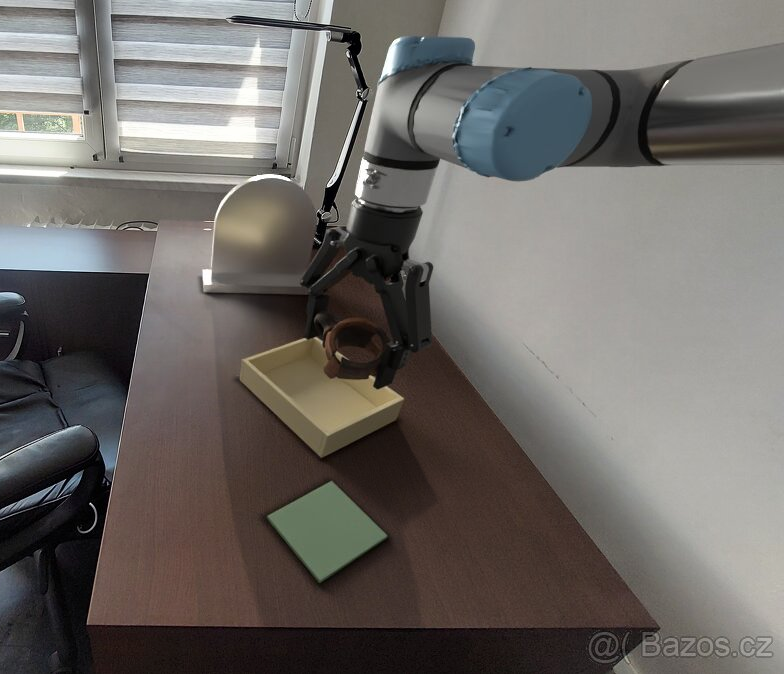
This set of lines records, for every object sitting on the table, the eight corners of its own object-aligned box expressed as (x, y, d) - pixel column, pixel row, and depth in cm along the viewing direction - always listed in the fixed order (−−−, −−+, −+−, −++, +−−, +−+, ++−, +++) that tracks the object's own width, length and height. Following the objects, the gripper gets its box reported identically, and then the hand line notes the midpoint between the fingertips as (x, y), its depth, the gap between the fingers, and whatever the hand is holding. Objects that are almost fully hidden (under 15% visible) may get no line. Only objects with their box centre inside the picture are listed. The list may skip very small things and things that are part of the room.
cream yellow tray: (396, 419, 78) (404, 398, 76) (321, 458, 71) (327, 436, 68) (308, 354, 94) (313, 334, 91) (239, 379, 86) (242, 359, 83)
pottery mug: (398, 367, 63) (414, 340, 56) (351, 412, 62) (361, 390, 54) (330, 314, 69) (337, 284, 62) (285, 354, 67) (287, 327, 60)
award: (306, 278, 122) (327, 172, 107) (314, 294, 115) (338, 183, 100) (202, 276, 122) (208, 169, 106) (203, 292, 114) (210, 179, 99)
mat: (386, 538, 60) (387, 535, 59) (319, 583, 55) (320, 580, 54) (330, 483, 67) (331, 480, 67) (266, 518, 62) (267, 515, 61)
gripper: (289, 179, 58) (267, 324, 70) (471, 245, 40) (400, 423, 52) (332, 173, 61) (304, 312, 73) (518, 232, 44) (441, 402, 56)
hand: (344, 359), depth 63 cm, fingers closed on pottery mug, 12 cm apart
